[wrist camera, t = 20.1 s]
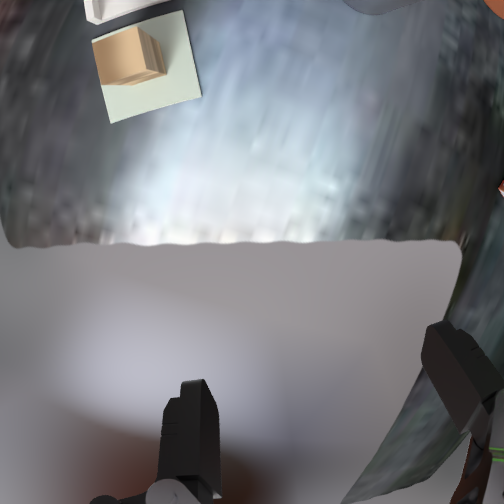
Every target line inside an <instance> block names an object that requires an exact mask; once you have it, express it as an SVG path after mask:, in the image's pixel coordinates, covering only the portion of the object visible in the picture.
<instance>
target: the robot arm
mask: <svg viewBox="0 0 504 504" xmlns="http://www.w3.org/2000/svg"><path fill="white" fill-rule="evenodd" d="M343 1H344V2H345V3H346V4H348V5H349V6H350V7H351V8H353V9H355V10H356V11H359V12H361V13H364V14H368V15H380V14H384V13H387V12H389V11H392V10H395V9H398V8H401V7H404V6H407V5H410V4H413V3H416V2H420V1H423V0H343ZM421 361H422V365H423V368H424V370H425V371H426V373H427V375H428V377H429V378H430V380H431V382H432V384H433V385H434V387H435V389H436V391H437V393H438V394H439V396H440V398H441V400H442V402H443V403H444V405H445V407H446V409H447V411H448V413H449V415H450V416H451V418H452V420H453V422H454V424H455V426H456V428H457V430H458V432H459V434H462V433H464V432H466V431H468V430H470V432H471V434H472V435H471V438H470V441H469V446H468V451H467V455H466V459H465V463H464V467H463V471H462V475H461V478H460V482H459V484H458V486H457V488H456V489H455V491H454V493H453V495H452V497H451V500H450V503H449V504H504V380H503V378H502V377H501V375H500V374H499V372H498V371H497V370H496V368H495V367H494V365H493V364H492V363H491V361H490V360H489V358H488V357H487V356H485V353H484V352H483V350H482V349H481V348H479V345H478V344H477V342H476V341H475V340H474V338H473V337H472V336H471V335H469V334H468V333H466V332H465V331H463V330H462V329H459V330H456V329H455V328H454V327H453V325H452V324H451V323H450V322H449V321H448V320H443V321H440V322H438V323H434V324H432V325H429V326H428V327H427V329H426V334H425V338H424V343H423V347H422V352H421ZM162 425H163V426H162V430H161V435H162V437H161V440H160V451H159V463H158V473H157V478H156V481H155V483H154V484H153V485H152V486H151V487H150V488H149V489H148V490H147V491H146V492H144V493H142V494H139V495H136V496H132V497H128V498H124V499H120V500H117V499H116V498H114V497H112V496H108V495H102V496H98V497H96V498H94V499H93V500H92V501H91V502H90V504H213V498H222V486H221V485H222V484H221V458H220V428H219V412H218V408H217V405H216V402H215V400H214V398H213V396H212V394H211V392H210V390H209V388H208V386H207V384H206V382H205V380H204V379H199V380H192V381H185V382H182V384H181V390H180V397H177V398H170V400H169V402H168V404H167V405H166V407H165V409H164V411H163V421H162Z"/></svg>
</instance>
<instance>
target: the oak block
mask: <svg viewBox="0 0 504 504" xmlns="http://www.w3.org/2000/svg"><path fill="white" fill-rule="evenodd" d="M92 45H93V50H94V55H95V60H96V64H97V69H98V73H99V77H100V82H101V85H130V86H133V85H135V84H138V83H142V82H145V81H148V80H151V79H154V78H157V77H161V76H164V75H167V73H166V69H165V65H164V61H163V56H162V52H161V47H160V43H159V42H158V41H157V40H156V39H154V38H153V37H151V36H150V35H149V34H147V33H146V32H144V31H143V30H142V29H140V28H139V27H137V26H136V27H133V28H130V29H127V30H125V31H122V32H119V33H117V34H114V35H111V36H109V37H106V38H104V39H101V40H99V41H96V42H94V43H92Z"/></svg>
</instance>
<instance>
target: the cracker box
mask: <svg viewBox="0 0 504 504" xmlns="http://www.w3.org/2000/svg"><path fill="white" fill-rule="evenodd" d="M498 189H499V190H500V192H501V193H502V195H503V197H504V180H503V182H502V183H501V185H500V186H499V188H498Z"/></svg>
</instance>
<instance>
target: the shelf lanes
mask: <svg viewBox="0 0 504 504" xmlns="http://www.w3.org/2000/svg"><path fill="white" fill-rule="evenodd" d="M165 1H169V0H84V4H85V11H86V17H87V21H89V22H92V23H94V24H96V25H98V24H101V23H103V22H106V21H108V20H111V19H114V18H116V17H119V16H122V15H125V14H127V13H130V12H133V11H136V10H139V9H142V8H145V7H148V6H152V5H155V4H158V3H162V2H165Z"/></svg>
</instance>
